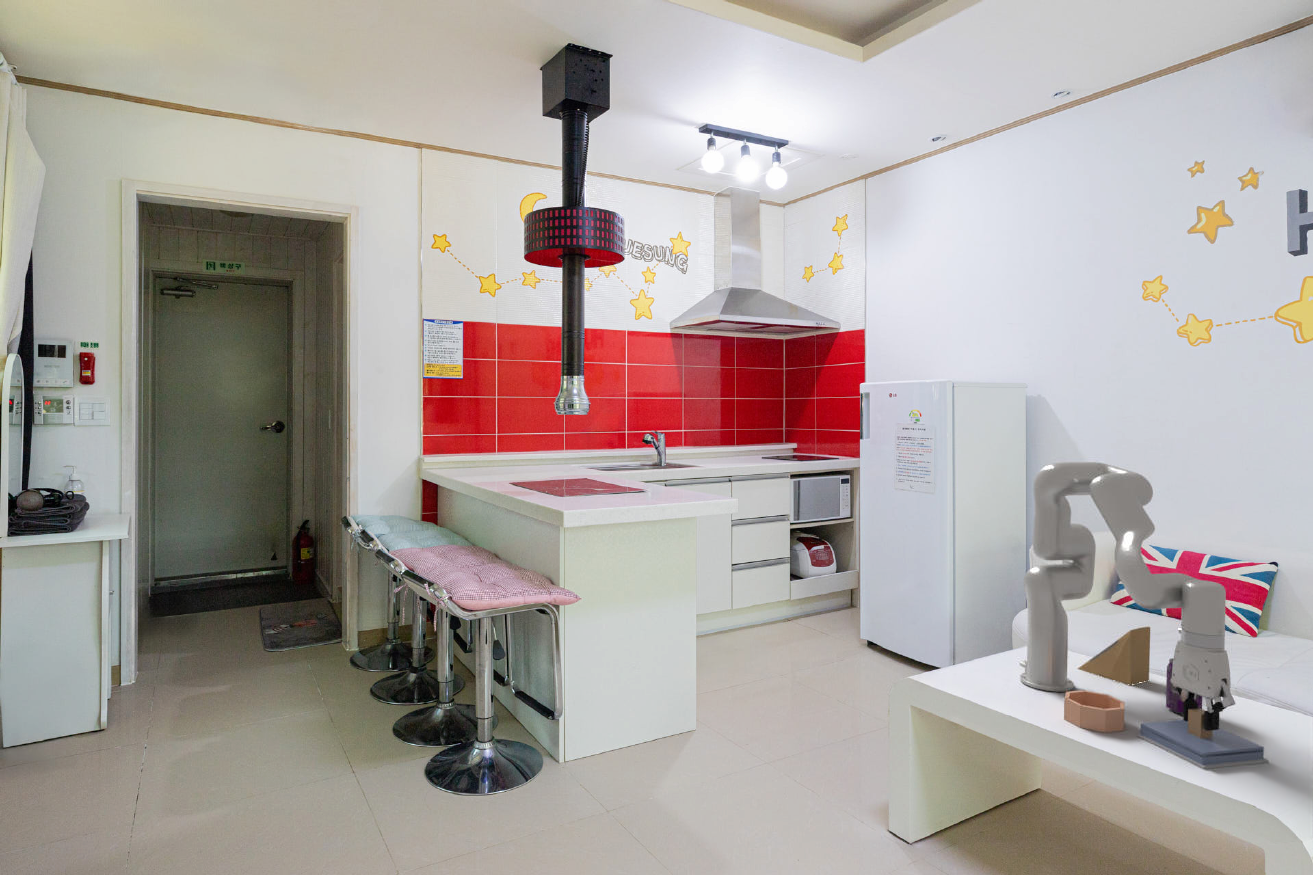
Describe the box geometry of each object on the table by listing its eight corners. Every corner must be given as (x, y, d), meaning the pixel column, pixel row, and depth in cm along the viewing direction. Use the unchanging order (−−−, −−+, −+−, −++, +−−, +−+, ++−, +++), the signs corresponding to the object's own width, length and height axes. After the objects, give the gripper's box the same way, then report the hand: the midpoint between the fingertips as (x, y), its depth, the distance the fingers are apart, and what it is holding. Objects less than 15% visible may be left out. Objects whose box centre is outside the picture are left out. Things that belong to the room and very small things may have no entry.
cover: (1140, 734, 165) (1141, 700, 165) (1197, 729, 168) (1197, 696, 168) (1202, 765, 150) (1203, 728, 150) (1263, 758, 153) (1264, 722, 153)
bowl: (1053, 713, 178) (1053, 692, 178) (1096, 709, 181) (1096, 689, 180) (1091, 733, 167) (1092, 711, 166) (1137, 729, 169) (1137, 707, 169)
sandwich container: (1095, 664, 215) (1096, 612, 215) (1149, 681, 201) (1151, 626, 201) (1075, 668, 211) (1076, 616, 211) (1130, 686, 198) (1130, 629, 197)
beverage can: (1208, 718, 176) (1209, 667, 175) (1174, 716, 177) (1175, 665, 177) (1192, 707, 183) (1193, 658, 182) (1160, 704, 184) (1161, 656, 184)
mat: (1137, 736, 165) (1137, 733, 165) (1197, 730, 169) (1197, 728, 169) (1203, 769, 150) (1203, 766, 150) (1268, 762, 153) (1268, 759, 153)
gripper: (1153, 629, 166) (1152, 711, 167) (1225, 652, 150) (1223, 742, 150) (1182, 627, 168) (1180, 708, 168) (1255, 650, 151) (1253, 739, 152)
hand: (1200, 723), depth 159 cm, fingers open, 4 cm apart
